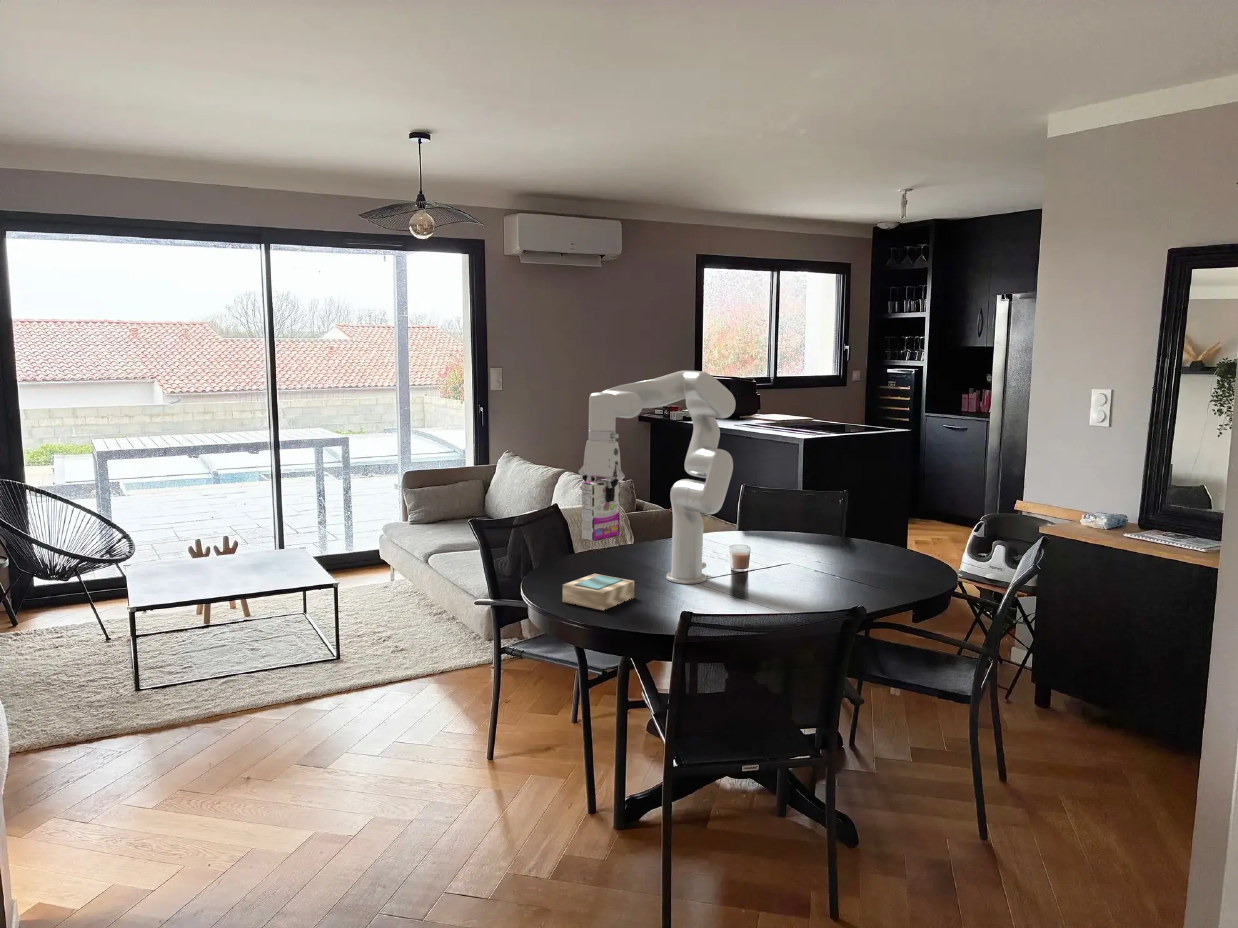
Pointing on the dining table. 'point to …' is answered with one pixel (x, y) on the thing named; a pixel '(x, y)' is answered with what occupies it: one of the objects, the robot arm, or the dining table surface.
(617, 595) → the wooden brick
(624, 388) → the robot arm
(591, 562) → the dining table surface
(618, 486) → the candy bar box
